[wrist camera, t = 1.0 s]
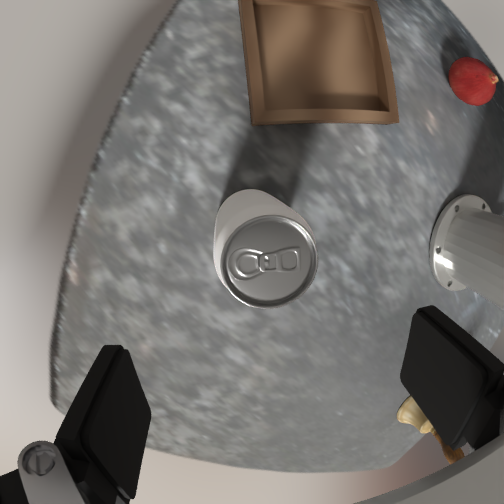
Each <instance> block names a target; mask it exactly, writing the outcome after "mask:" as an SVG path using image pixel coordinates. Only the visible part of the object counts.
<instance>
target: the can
mask: <svg viewBox="0 0 504 504" xmlns="http://www.w3.org/2000/svg"><path fill="white" fill-rule="evenodd" d="M214 264H215V268H216V271H217V274H218V276H219V278H220V280H221V281H222V283H223V284H224V286H225V287H226V288H227V289H228V290H229V291H230V292H231V294H232V295H233V296H234V297H236V298H237V299H238V300H239V301H241V302H243V303H244V304H246V305H249V306H252V307H255V308H261V309H273V308H278V307H282V306H285V305H287V304H290V303H292V302H293V301H295V300H297V299H298V298H299V297H300V296H302V295H303V294H304V293H305V292H306V290H307V289H308V288H309V287H310V285H311V283H312V282H313V280H314V278H315V275H316V272H317V268H318V251H317V247H316V241H315V237H314V234H313V232H312V230H311V228H310V226H309V225H308V224H307V222H306V221H305V220H304V219H303V218H302V217H301V216H300V215H299V214H298V213H297V212H295V211H294V210H293V209H291V208H290V207H288V206H287V205H285V204H284V203H282V202H281V201H279V200H278V199H276V198H275V197H273V196H271V195H270V194H268V193H266V192H264V191H261V190H256V189H246V190H242V191H238V192H236V193H234V194H232V195H231V196H230V197H228V198H227V199H226V200H225V201H224V202H223V204H222V205H221V207H220V209H219V211H218V213H217V216H216V222H215V234H214Z"/></svg>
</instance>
